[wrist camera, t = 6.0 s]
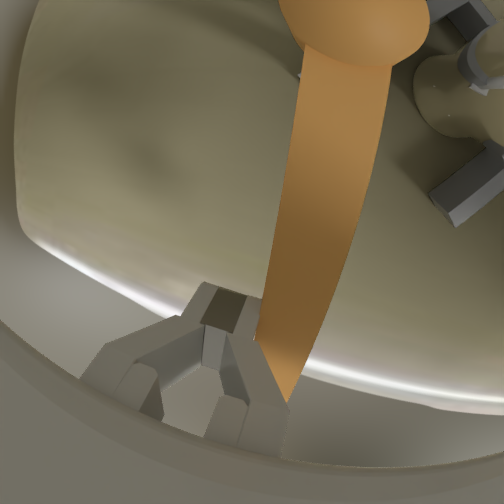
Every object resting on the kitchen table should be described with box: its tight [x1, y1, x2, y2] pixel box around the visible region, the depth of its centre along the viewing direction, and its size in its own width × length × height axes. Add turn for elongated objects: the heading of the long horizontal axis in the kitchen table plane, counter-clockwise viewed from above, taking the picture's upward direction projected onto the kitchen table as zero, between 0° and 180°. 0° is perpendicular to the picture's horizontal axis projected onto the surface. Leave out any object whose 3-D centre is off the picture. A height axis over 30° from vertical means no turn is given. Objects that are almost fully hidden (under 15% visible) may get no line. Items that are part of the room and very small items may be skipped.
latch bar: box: [254, 0, 430, 403], centre depth 8 cm, size 15×3×4 cm, turn 173°
